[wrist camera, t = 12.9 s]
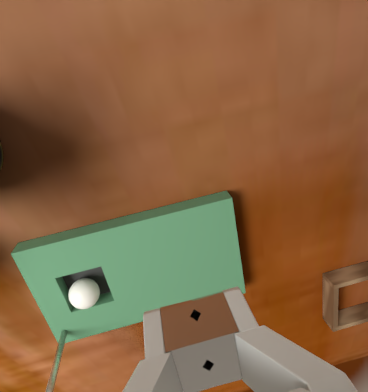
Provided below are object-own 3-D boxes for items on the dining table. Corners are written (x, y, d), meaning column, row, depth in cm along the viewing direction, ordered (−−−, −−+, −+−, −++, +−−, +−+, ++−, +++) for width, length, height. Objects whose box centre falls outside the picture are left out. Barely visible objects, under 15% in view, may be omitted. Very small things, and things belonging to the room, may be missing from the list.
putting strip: (226, 190, 40) (232, 197, 38) (240, 281, 47) (245, 292, 45) (17, 242, 38) (10, 253, 36) (62, 330, 45) (58, 344, 43)
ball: (77, 294, 37) (57, 287, 39) (87, 319, 38) (67, 311, 41) (101, 274, 40) (81, 269, 42) (109, 299, 41) (90, 292, 44)
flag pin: (86, 323, 42) (67, 433, 29) (87, 327, 42) (69, 438, 30) (60, 330, 42) (30, 444, 29) (62, 334, 42) (33, 449, 29)
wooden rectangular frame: (396, 252, 50) (411, 263, 47) (390, 298, 54) (404, 310, 52) (322, 273, 49) (334, 285, 46) (322, 318, 53) (333, 331, 51)
